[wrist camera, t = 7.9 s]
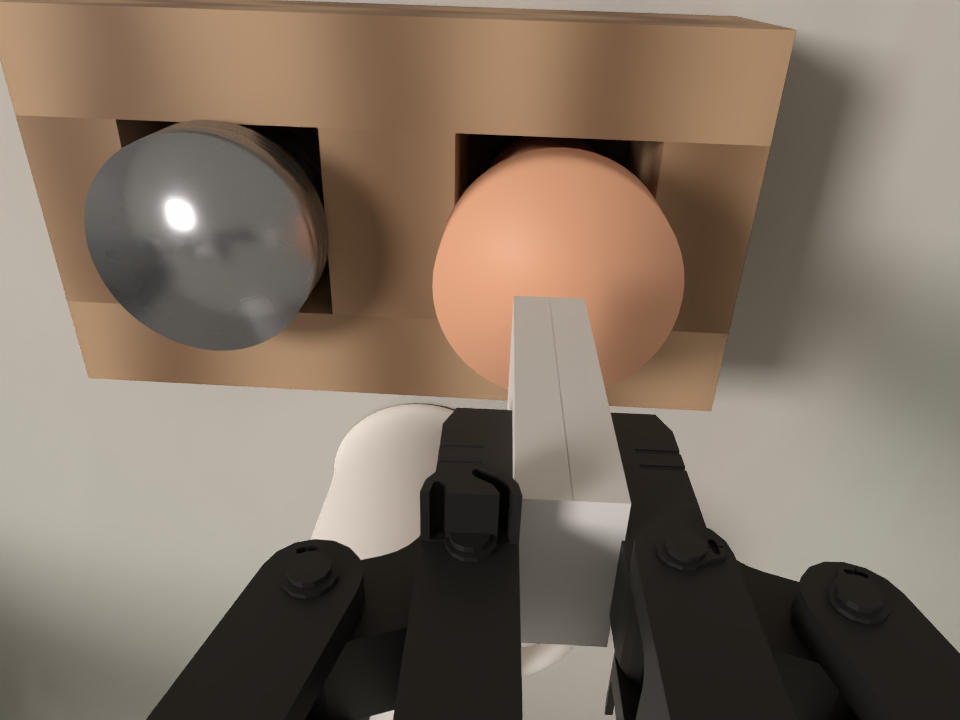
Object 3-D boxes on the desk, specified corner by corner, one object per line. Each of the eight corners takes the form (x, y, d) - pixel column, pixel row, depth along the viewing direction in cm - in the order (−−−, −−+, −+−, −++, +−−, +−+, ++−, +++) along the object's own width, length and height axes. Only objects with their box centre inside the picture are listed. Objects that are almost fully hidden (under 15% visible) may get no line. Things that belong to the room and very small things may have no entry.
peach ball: (456, 281, 27) (432, 391, 20) (458, 103, 24) (432, 160, 17) (626, 289, 27) (663, 404, 20) (651, 111, 23) (705, 172, 16)
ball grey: (213, 253, 29) (112, 345, 22) (185, 84, 25) (58, 128, 18) (370, 260, 28) (320, 356, 21) (362, 91, 25) (300, 139, 18)
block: (163, 307, 30) (88, 377, 25) (98, -6, 25) (-17, 1, 19) (678, 333, 30) (711, 411, 25) (736, 16, 24) (796, 30, 19)
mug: (593, 421, 32) (627, 641, 22) (563, 558, 36) (580, 798, 26) (335, 392, 32) (245, 597, 22) (335, 532, 36) (259, 762, 26)
